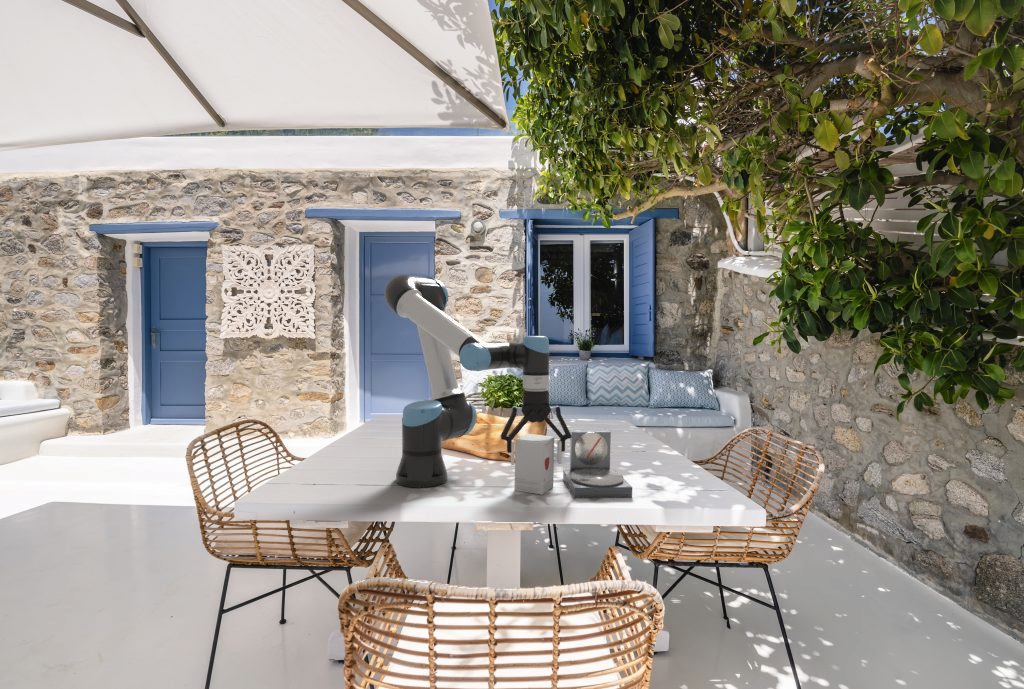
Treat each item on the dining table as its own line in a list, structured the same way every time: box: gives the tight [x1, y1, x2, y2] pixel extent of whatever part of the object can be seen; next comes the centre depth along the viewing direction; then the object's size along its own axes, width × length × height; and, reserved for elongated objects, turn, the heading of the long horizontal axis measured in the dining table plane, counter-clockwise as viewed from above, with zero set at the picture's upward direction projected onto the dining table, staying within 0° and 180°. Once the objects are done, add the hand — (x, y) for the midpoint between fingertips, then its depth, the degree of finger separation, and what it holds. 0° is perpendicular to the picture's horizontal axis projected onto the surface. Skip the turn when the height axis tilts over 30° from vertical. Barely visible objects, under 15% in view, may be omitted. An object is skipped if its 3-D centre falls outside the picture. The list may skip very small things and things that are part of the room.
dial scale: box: [562, 430, 633, 500], centre depth 153 cm, size 16×18×15 cm
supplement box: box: [514, 433, 555, 496], centre depth 151 cm, size 9×9×15 cm
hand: (535, 463), depth 151 cm, fingers open, 13 cm apart
